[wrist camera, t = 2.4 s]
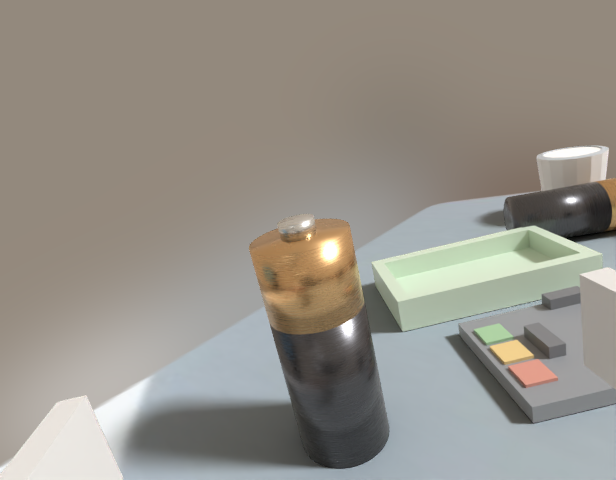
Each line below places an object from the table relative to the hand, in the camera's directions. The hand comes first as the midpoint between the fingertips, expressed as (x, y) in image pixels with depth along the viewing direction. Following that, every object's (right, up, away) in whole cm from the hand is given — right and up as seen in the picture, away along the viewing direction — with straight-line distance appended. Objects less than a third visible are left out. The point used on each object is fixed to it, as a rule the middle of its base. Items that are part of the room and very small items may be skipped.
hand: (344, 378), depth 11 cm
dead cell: (+26, +4, +31) cm, 41 cm away
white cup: (+30, +7, +38) cm, 49 cm away
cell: (+1, -7, +13) cm, 15 cm away
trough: (+14, 0, +26) cm, 29 cm away
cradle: (+16, -3, +15) cm, 22 cm away
